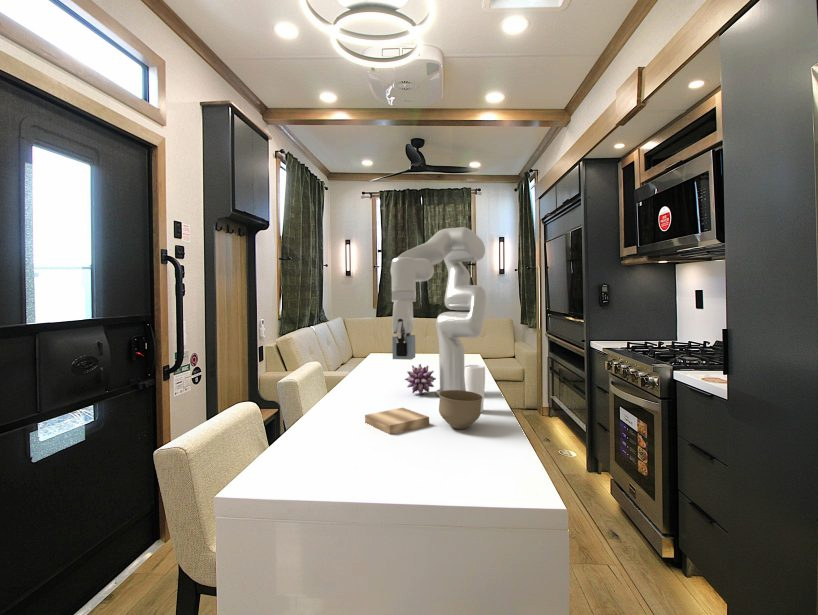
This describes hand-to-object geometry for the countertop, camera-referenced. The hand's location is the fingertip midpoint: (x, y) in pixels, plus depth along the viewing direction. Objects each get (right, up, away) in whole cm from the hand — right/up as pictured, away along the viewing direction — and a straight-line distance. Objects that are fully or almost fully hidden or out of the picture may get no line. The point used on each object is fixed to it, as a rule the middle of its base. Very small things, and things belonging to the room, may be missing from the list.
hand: (404, 354), depth 144 cm
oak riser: (-2, -21, -5) cm, 22 cm away
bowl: (+17, -21, -9) cm, 28 cm away
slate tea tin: (0, -1, 0) cm, 1 cm away
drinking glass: (+23, -20, +8) cm, 32 cm away
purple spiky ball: (+6, -19, +33) cm, 39 cm away
